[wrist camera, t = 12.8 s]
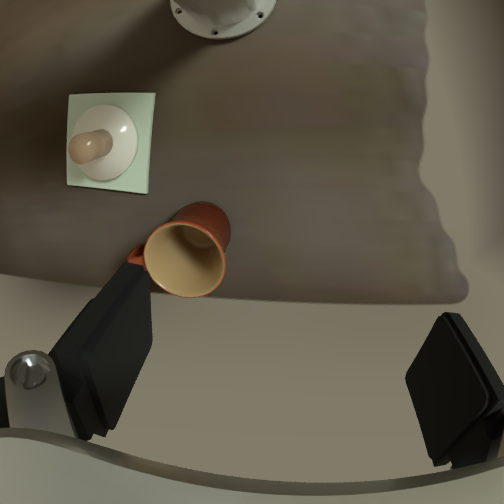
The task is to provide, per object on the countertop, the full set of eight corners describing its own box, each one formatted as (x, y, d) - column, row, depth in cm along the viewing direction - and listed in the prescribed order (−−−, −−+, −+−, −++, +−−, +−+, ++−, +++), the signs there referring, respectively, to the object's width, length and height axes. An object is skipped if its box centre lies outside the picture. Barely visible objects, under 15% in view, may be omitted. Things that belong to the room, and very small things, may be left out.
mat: (71, 94, 34) (69, 94, 33) (155, 93, 34) (153, 93, 33) (69, 183, 40) (67, 184, 39) (147, 192, 39) (146, 193, 39)
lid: (76, 105, 34) (49, 108, 29) (141, 104, 34) (119, 105, 28) (75, 175, 38) (50, 187, 33) (136, 181, 38) (115, 194, 33)
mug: (230, 188, 39) (215, 215, 29) (243, 251, 42) (233, 294, 33) (143, 203, 40) (107, 233, 31) (160, 261, 44) (133, 302, 35)
